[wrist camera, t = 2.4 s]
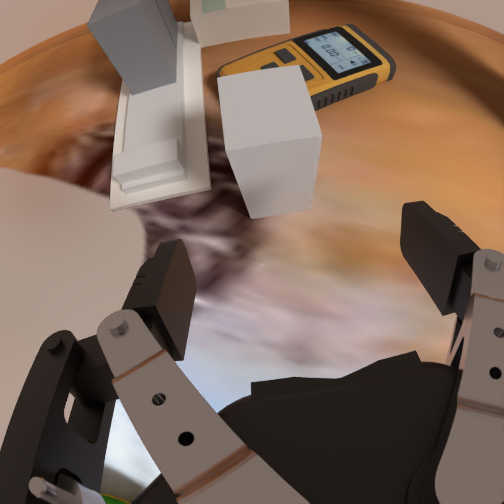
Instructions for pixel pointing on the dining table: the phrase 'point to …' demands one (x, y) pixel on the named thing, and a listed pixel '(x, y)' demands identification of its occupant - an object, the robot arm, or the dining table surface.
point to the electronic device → (325, 63)
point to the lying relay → (238, 19)
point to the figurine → (113, 499)
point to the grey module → (271, 138)
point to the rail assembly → (154, 102)
